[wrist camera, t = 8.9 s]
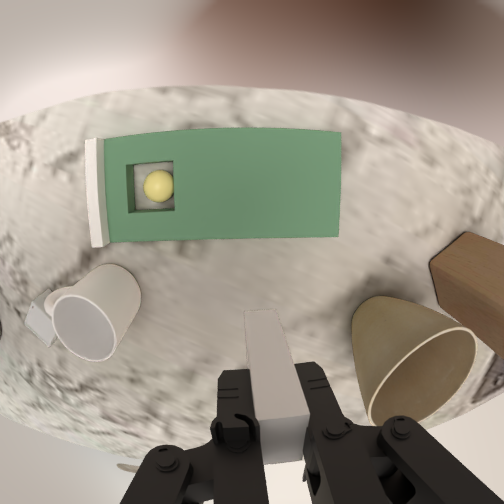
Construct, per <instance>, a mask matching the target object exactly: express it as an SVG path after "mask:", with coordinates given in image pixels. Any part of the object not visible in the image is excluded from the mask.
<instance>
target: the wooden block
mask: <svg viewBox="0 0 504 504" xmlns="http://www.w3.org/2000/svg"><path fill="white" fill-rule="evenodd" d="M430 269H431V272H432V276H433V280H434V284H435V288H436V292H437V297H438V301H439V305H440V307H441V308H442V309H443V310H444V311H446V312H447V313H448V314H450V315H451V316H452V317H453V318H455V319H456V320H457V321H458V322H460V323H461V324H462V325H463V326H465V327H467V328H468V329H470V330H471V331H472V332H473V333H474V334H475V335H476V336H477V337H478V338H479V339H480V340H481V341H483V342H484V343H485V344H486V345H487V346H489V347H490V348H491V349H492V350H493V351H494V352H495V353H497V354H498V355H499V356H500V357H501V358H502V359H503V360H504V245H502V244H499V243H497V242H494V241H492V240H489V239H487V238H484V237H482V236H479V235H476V234H474V233H471V232H466V233H464V234H462V235H461V236H460V237H459V238H458V239H457V240H455V241H454V242H453V243H452V244H451V245H450V246H448V247H447V248H446V249H445V250H443V251H442V252H441V253H440V254H438V255H437V256H436V257H435V258H433V259H432V260H431V262H430Z"/></svg>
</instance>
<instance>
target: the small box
mask: <svg viewBox="0 0 504 504" xmlns="http://www.w3.org/2000/svg"><path fill="white" fill-rule="evenodd" d="M51 293H52V291H51V290H50V289H49V288H48V289H47V290H46V291H44V292H43V293H42V294H41V295H39V296H38V297H37V298H35V299H34V300H33V301H32V303H31V305H30V308H29V311H28V314H27V317H26V319H25V322H24V324H25V325H26V326H27V327H28V328H29V329H30V330H31V331H32V332H33V333H34V334H35V335H36V336H37V337H38V338H39V339H40V340H41V341H42V342H43V343H45V344H46V345H47V346H48V347H50V346H51V345H52V344H53V343H54V342H55V340H56V339H57V338H58V336H57V334H56V332H55V330H54V327H53V324H52V317H51V316H50V315H49V314H48V313H47V312H46V311H45V308H44V302H45V299H46V298H47V296H48V295H49V294H51Z"/></svg>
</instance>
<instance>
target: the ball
mask: <svg viewBox="0 0 504 504" xmlns="http://www.w3.org/2000/svg"><path fill="white" fill-rule="evenodd" d="M143 189H144V193H145V195H146V196H147V198H149V199H150V200H151V201H154V202H164V201H166V200H168V199H169V198H170V197H171V196H172V195H173V193H174V178H173V177H172V175H171V174H170V173H168V172H167V171H164V170H156V171H153V172H151V173H150V174H149V175H148V176H147V177H146V179H145V181H144V184H143Z"/></svg>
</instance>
